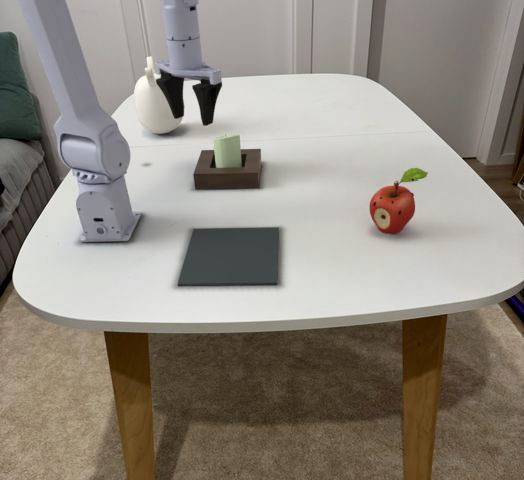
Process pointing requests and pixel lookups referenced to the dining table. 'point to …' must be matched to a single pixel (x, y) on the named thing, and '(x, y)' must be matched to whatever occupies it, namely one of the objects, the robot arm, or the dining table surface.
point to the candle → (227, 151)
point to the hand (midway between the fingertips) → (193, 120)
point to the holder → (228, 171)
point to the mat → (231, 257)
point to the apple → (395, 204)
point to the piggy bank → (153, 103)
